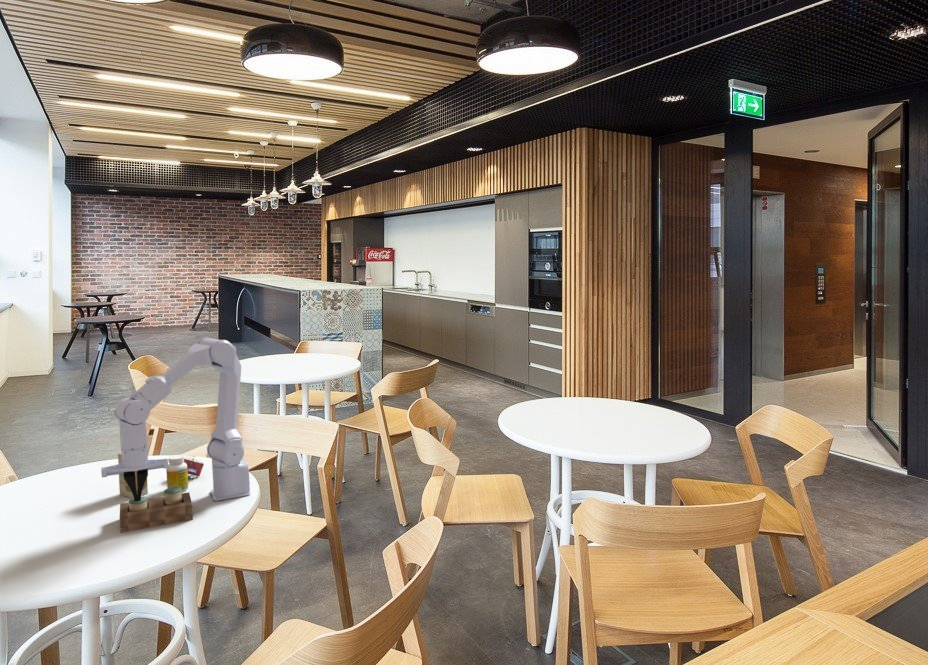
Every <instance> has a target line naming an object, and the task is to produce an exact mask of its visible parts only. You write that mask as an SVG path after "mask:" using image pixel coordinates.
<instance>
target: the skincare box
mask: <svg viewBox="0 0 928 665" xmlns="http://www.w3.org/2000/svg"><path fill="white" fill-rule="evenodd" d="M117 459H118V460H117V461H118V464H122V456H121V451H120V452H118V453H117ZM135 479H136V489H137V490H138V485H137V472H135ZM118 484H119V487H118V488H119V496H123V497H127V498H130V499H132V498H134V497H133V494H132V491H131V489H130V487H129V486H128V484H127V483H126V481H125V480H124V474H118ZM148 486H149V485H148V478H147V479H146V481H145V483H144V486H143V489H142V494H141V497H143V496H145V495H147V494H148V493H149V491H148V490H149V489H148Z"/></svg>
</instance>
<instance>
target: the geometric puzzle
mask: <svg viewBox="0 0 928 665" xmlns="http://www.w3.org/2000/svg"><path fill="white" fill-rule="evenodd" d="M188 457H189V456H186V458H184V463H186V464H187V471H188V475H190V476H189V478H191V477H192V476H193V477H196V476H199V477H200V475H201V473H202V471H203V467H204V465H205V463H203V461H201V462H200V460H197V461H196V460H195V459H194V458H195V457H193V458H191V459H190V458H188Z"/></svg>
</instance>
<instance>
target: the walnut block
mask: <svg viewBox="0 0 928 665" xmlns="http://www.w3.org/2000/svg"><path fill="white" fill-rule="evenodd" d="M193 519H194V513H193V502H192V498H191V494H190V492H189V491H188V492H182V503H178V504H172V505H166V506H165V496H164V495H163V496H159V497H151V498H147V509H143V510H137V511H131V512H129V501H128V502H127V501H126V502H121V503H119V528H120V530H119V531H120V533H126V532H132V531H137V530H143V529H147V528H154V527H159V526H163V525H164V526H166V525H170V524H175V523H181V522H186V521H191V520H193Z"/></svg>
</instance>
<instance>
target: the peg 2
mask: <svg viewBox="0 0 928 665" xmlns="http://www.w3.org/2000/svg"><path fill="white" fill-rule="evenodd" d="M163 492H164V493H163V494H164V495H163V496H165V506H166V505H172V504H178V503H182V493H183V492H182V488H181V487H170V488H165V489H164V490H163Z"/></svg>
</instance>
